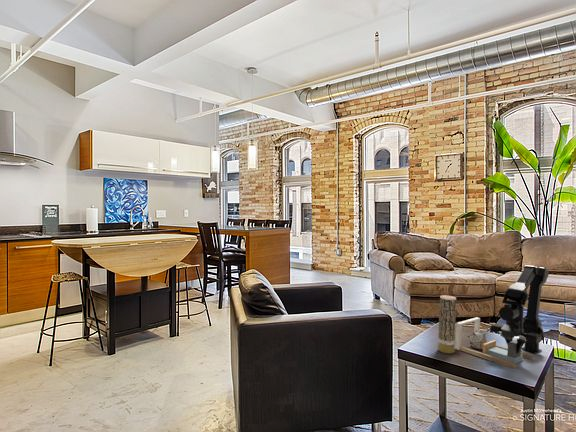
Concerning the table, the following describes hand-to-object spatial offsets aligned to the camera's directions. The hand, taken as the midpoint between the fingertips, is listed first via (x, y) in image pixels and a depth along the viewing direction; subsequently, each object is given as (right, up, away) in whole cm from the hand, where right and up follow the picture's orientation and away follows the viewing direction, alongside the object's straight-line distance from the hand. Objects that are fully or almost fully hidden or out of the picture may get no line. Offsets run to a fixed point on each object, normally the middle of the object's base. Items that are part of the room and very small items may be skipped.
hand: (514, 352), depth 163 cm
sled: (-3, -3, +4) cm, 6 cm away
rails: (-5, -3, +6) cm, 8 cm away
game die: (-9, -3, +13) cm, 16 cm away
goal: (-12, -3, +17) cm, 21 cm away
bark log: (-26, -3, +9) cm, 27 cm away
